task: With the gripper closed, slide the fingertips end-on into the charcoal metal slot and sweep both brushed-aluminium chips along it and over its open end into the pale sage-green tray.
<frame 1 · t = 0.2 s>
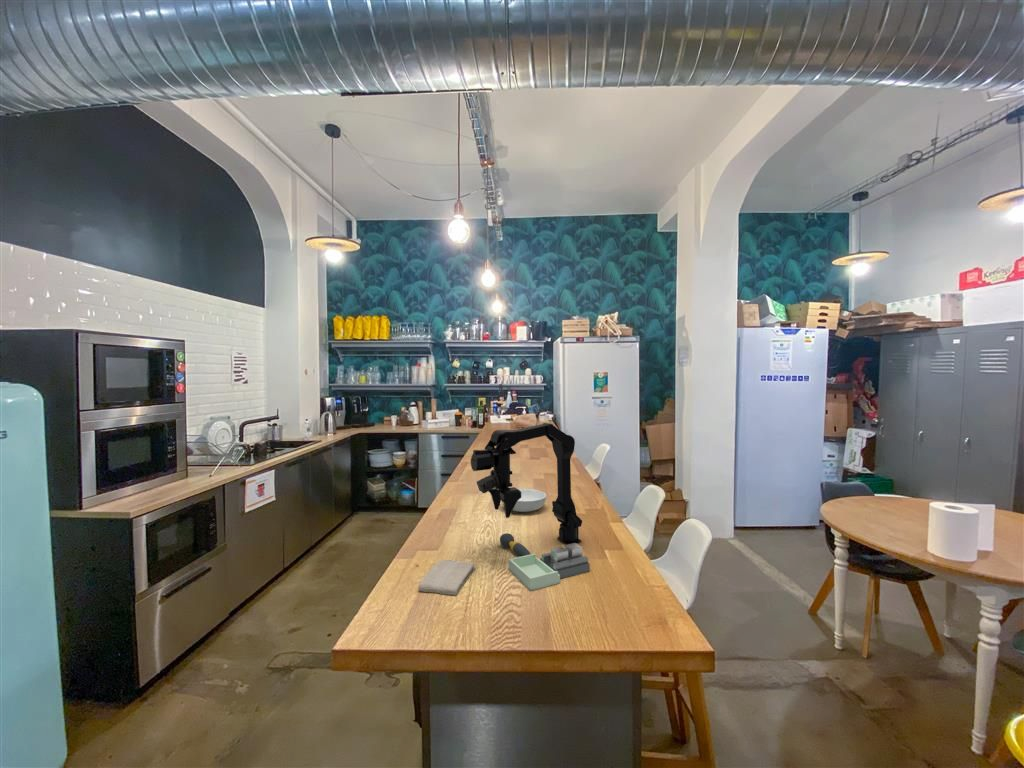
hand: (502, 513, 142), 14 cm above the counter, fingers open, 9 cm apart
chip tray: (533, 576, 128), on the counter
chip a: (573, 558, 134), point 2 cm above the counter, touching slot board
serving bowl: (523, 509, 192), on the counter
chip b: (559, 562, 132), point 2 cm above the counter, touching slot board
paintbrush: (516, 553, 145), on the counter
slot board: (564, 568, 133), on the counter
washcloth: (448, 581, 126), on the counter
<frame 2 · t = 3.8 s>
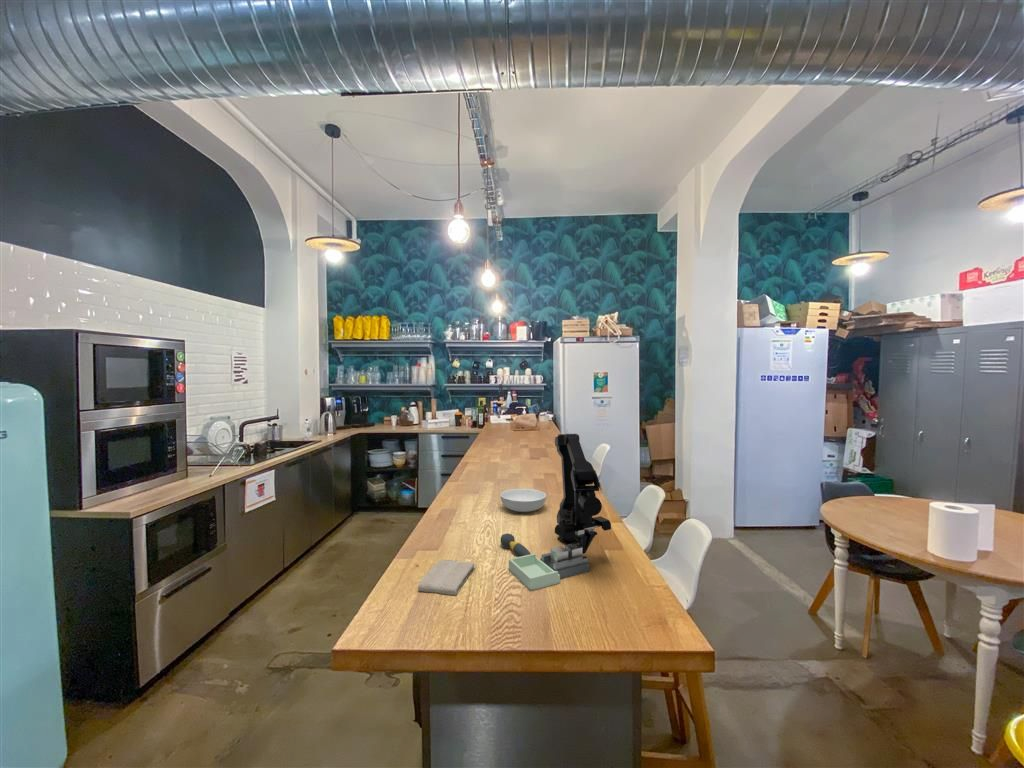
hand: (583, 553, 136), 4 cm above the counter, fingers closed
chip a: (573, 558, 134), point 3 cm above the counter, touching gripper
everything else where it was.
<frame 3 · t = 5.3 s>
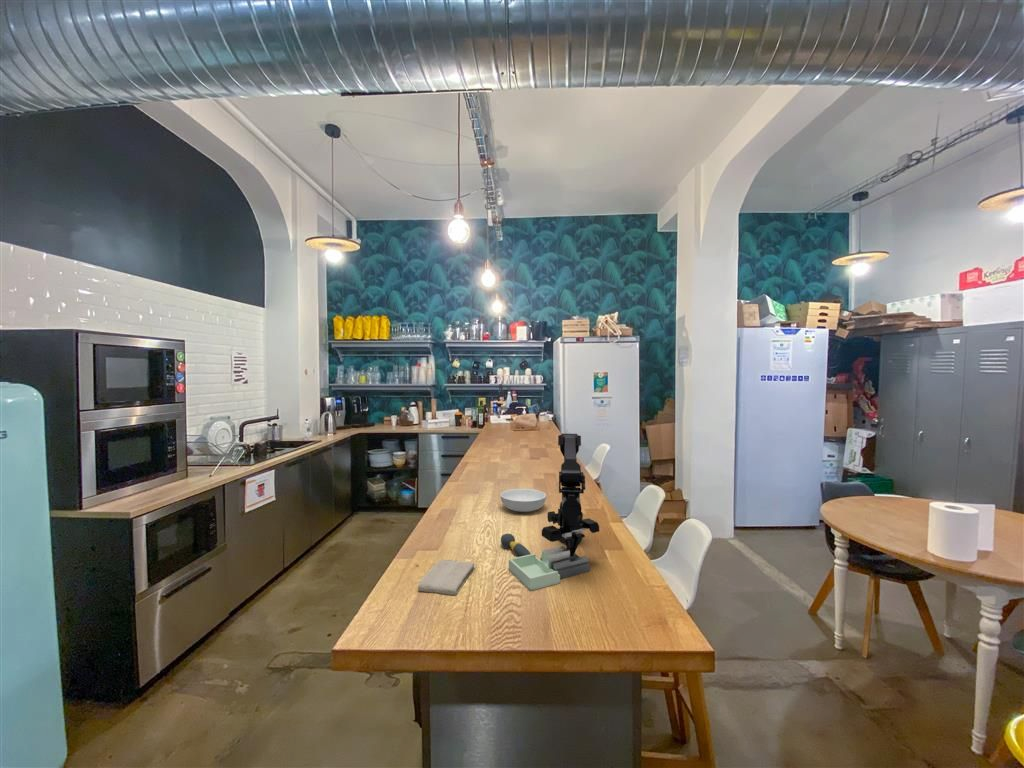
hand: (570, 556, 134), 4 cm above the counter, fingers closed
chip a: (561, 561, 132), point 3 cm above the counter, touching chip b, gripper
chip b: (550, 564, 130), point 3 cm above the counter, touching chip a
everything else where it was.
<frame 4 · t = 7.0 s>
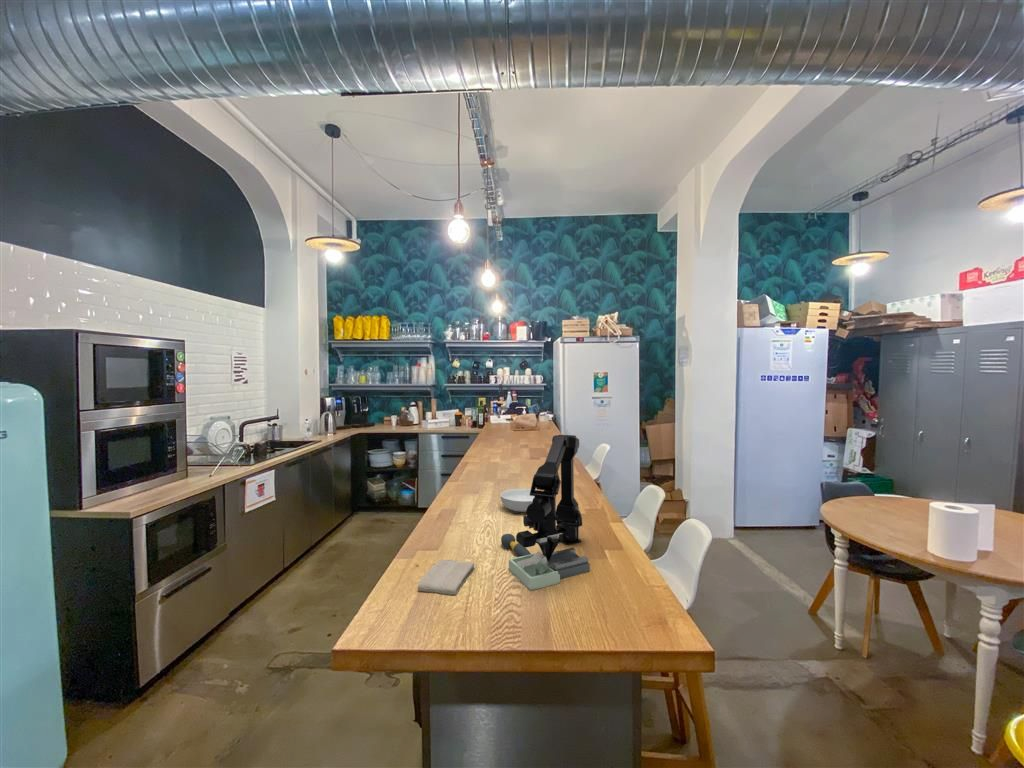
hand: (546, 561, 130), 4 cm above the counter, fingers closed, pressing on chip a
chip a: (542, 567, 130), point 2 cm above the counter, tilted 27°, touching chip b, chip tray, gripper
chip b: (532, 567, 128), point 3 cm above the counter, tilted 94°, touching chip a, chip tray
everything else where it was.
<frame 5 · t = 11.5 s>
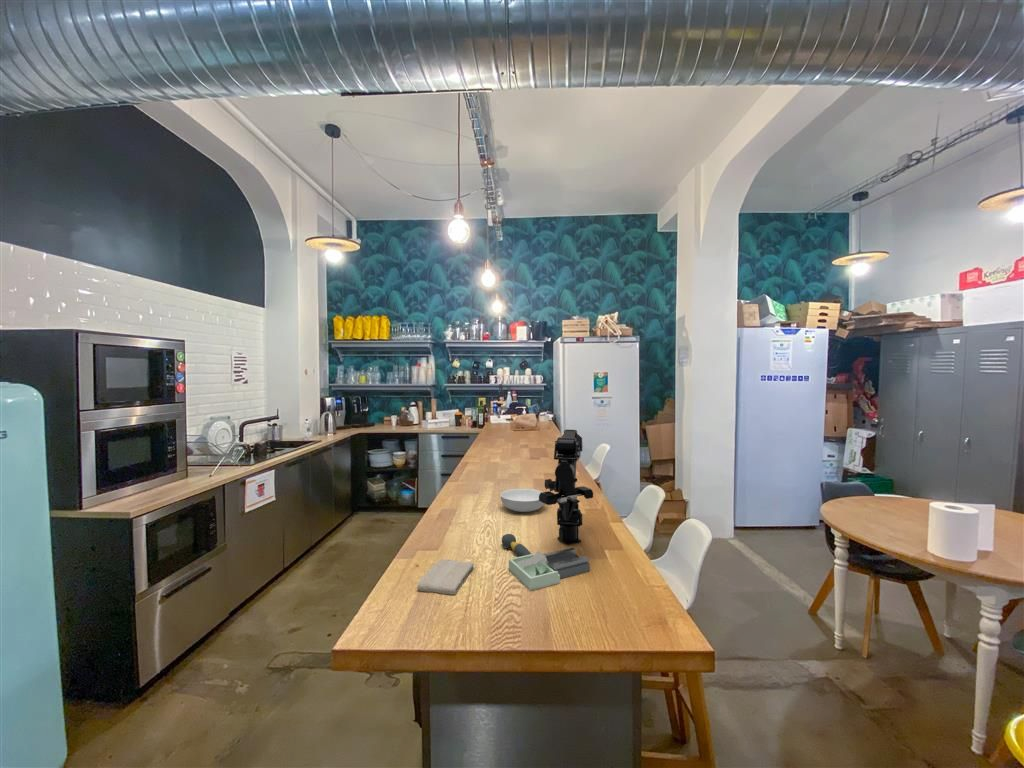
hand: (566, 520, 142), 12 cm above the counter, fingers closed
chip a: (542, 567, 130), point 2 cm above the counter, tilted 27°, touching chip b, chip tray
everything else where it was.
at the end: chip a inside the target area (3.5 cm from its centre), point 1.8 cm above the counter; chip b inside the target area (0.4 cm from its centre), point 2.7 cm above the counter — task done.
